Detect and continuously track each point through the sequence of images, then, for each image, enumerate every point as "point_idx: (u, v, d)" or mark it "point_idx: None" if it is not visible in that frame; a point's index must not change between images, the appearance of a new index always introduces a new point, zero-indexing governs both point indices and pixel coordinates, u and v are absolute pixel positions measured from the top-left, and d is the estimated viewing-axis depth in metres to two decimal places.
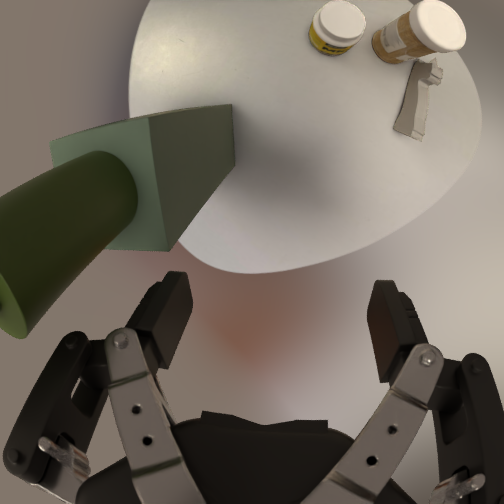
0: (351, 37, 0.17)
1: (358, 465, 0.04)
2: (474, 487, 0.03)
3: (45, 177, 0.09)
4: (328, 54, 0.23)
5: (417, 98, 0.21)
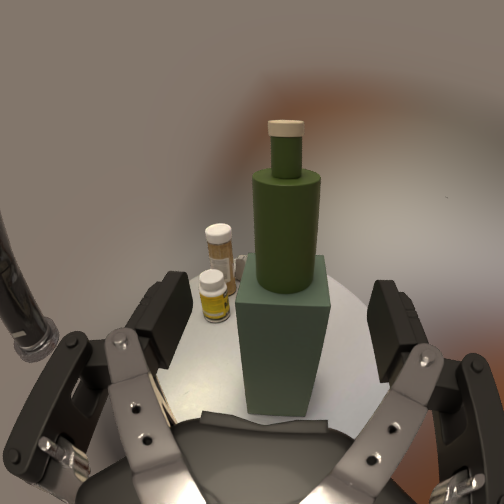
0: (222, 274, 0.45)
1: (358, 465, 0.04)
2: (474, 487, 0.03)
3: None
4: (228, 312, 0.48)
5: None
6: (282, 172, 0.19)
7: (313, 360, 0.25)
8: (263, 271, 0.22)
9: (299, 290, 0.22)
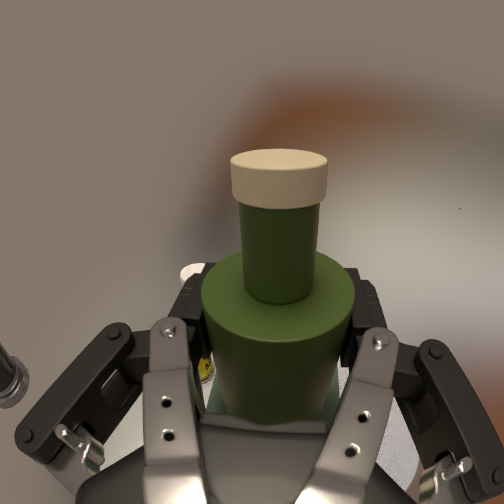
0: None
1: (338, 459, 0.04)
2: (463, 471, 0.03)
3: None
4: (211, 372, 0.37)
5: None
6: (267, 291, 0.08)
7: None
8: None
9: None
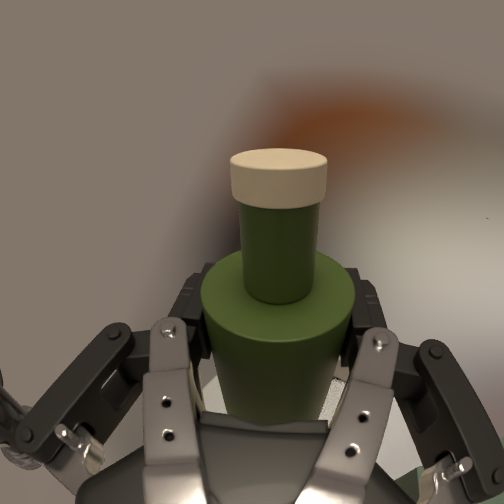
0: None
1: (338, 459, 0.04)
2: (463, 471, 0.03)
3: None
4: None
5: None
6: (267, 290, 0.08)
7: None
8: None
9: None
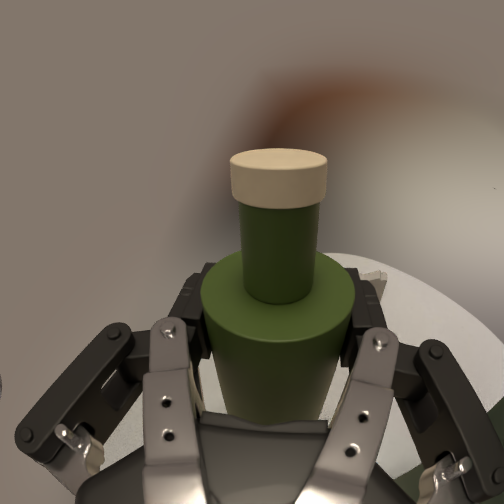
0: None
1: (338, 459, 0.04)
2: (463, 471, 0.03)
3: None
4: None
5: None
6: (267, 291, 0.08)
7: None
8: None
9: None
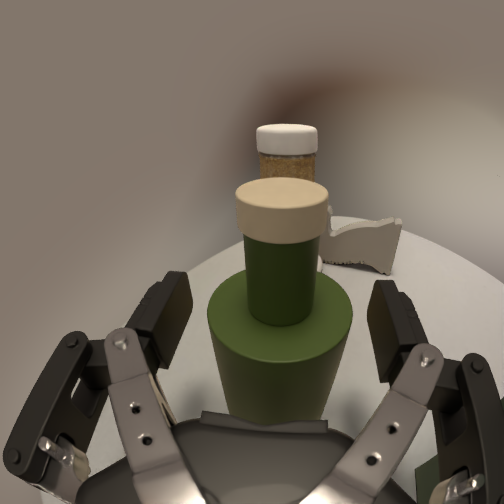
0: None
1: (358, 465, 0.04)
2: (474, 487, 0.03)
3: None
4: None
5: (354, 229, 0.24)
6: (270, 314, 0.08)
7: None
8: None
9: None
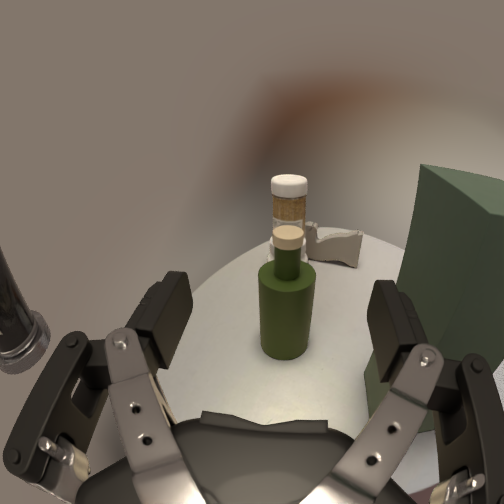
0: (304, 238, 0.31)
1: (358, 465, 0.04)
2: (474, 487, 0.03)
3: None
4: None
5: (332, 238, 0.39)
6: (283, 275, 0.23)
7: None
8: (266, 344, 0.26)
9: (295, 357, 0.27)
